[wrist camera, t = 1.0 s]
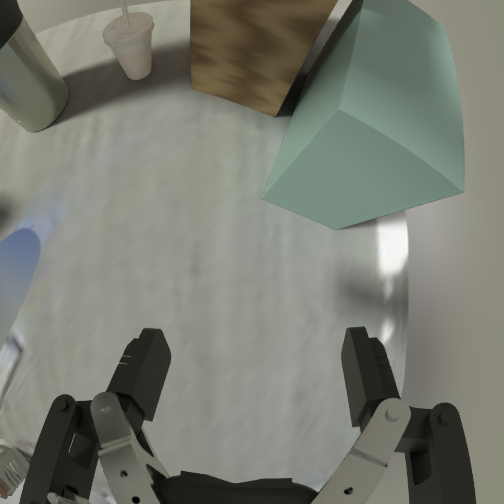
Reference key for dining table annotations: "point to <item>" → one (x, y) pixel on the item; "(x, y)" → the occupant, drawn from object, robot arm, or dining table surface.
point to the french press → (11, 468)
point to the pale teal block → (373, 120)
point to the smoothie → (131, 42)
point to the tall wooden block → (252, 47)
